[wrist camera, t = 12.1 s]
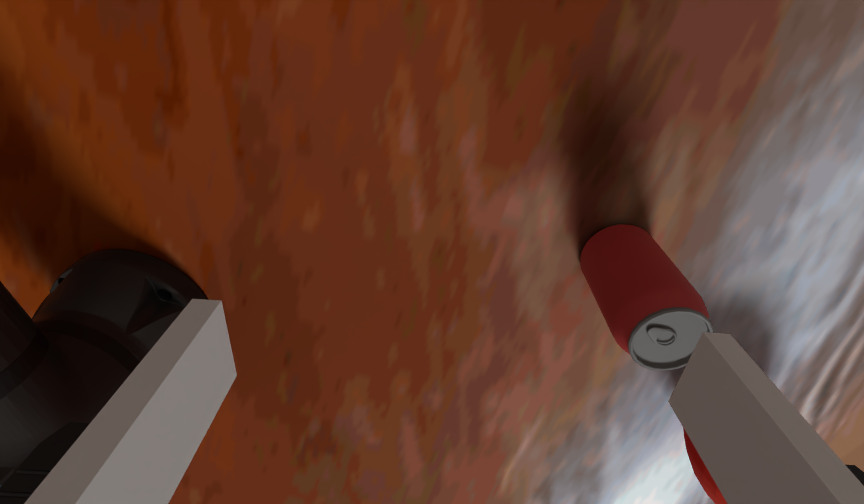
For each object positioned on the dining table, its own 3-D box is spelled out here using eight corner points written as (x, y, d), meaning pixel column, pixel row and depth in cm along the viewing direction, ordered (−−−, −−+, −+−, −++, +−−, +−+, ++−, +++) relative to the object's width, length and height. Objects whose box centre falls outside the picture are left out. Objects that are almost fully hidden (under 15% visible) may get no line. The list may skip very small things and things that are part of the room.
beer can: (611, 208, 38) (671, 287, 28) (668, 242, 39) (745, 330, 29) (563, 263, 41) (601, 353, 31) (617, 293, 42) (671, 389, 32)
